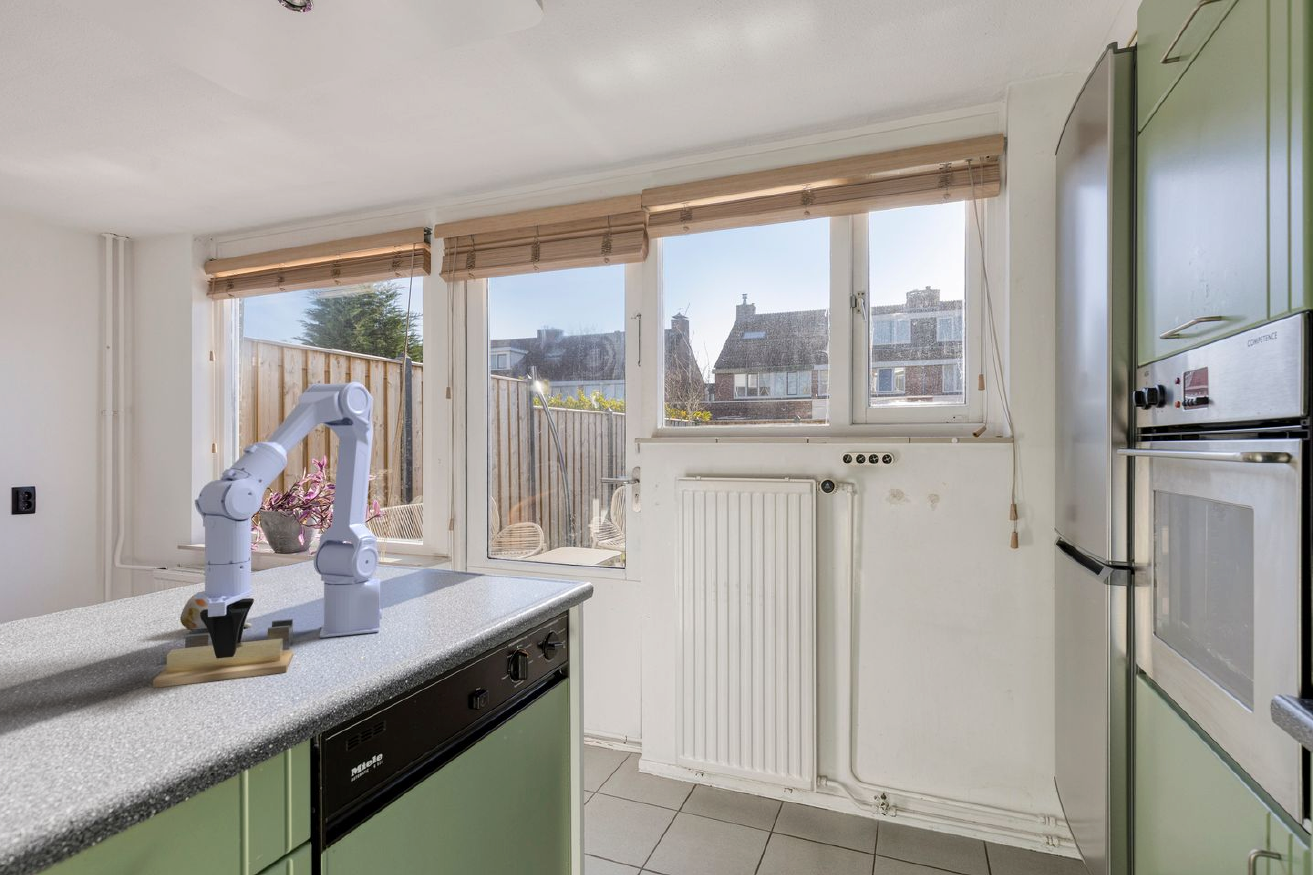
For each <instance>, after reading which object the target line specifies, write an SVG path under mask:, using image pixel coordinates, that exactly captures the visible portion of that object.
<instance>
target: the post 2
mask: <svg viewBox="0 0 1313 875" xmlns="http://www.w3.org/2000/svg"><path fill="white" fill-rule="evenodd" d="M282 638H283V650H290V649H291V646H292V644H293V641H294V618H289V619H280V620H271V626H270V627H267V640H272V639H282Z"/></svg>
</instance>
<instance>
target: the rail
mask: <svg viewBox="0 0 1313 875" xmlns="http://www.w3.org/2000/svg"><path fill="white" fill-rule="evenodd" d="M282 656H283V638H282V639H272V640H268V639H264V640H263V639H262V640H253V641H243V642H242V641H241V642H240V643H237V646H236V650H235V654H234V656H233V657H228V658H218V659H217V658H216V655H215V652H214V648H213V645H211V646H201V647H191V648H185V647H184V648H183V647H182V648H174V649H171V650H170V651H169V652H168V653H167V654H166V666H167V673H174V672H183V671H192V670H201V669H210V668H219V667H228V666H237V665H246V664H255V663H264V662H273V661H280V660H281V658H282Z"/></svg>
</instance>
